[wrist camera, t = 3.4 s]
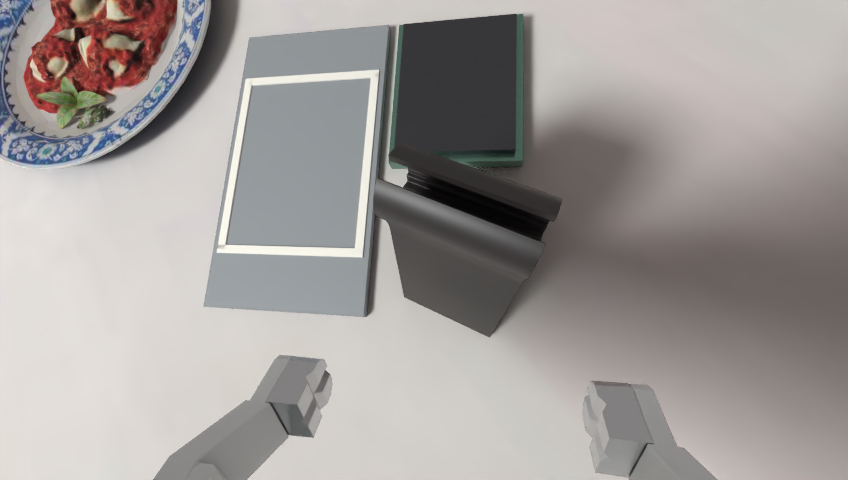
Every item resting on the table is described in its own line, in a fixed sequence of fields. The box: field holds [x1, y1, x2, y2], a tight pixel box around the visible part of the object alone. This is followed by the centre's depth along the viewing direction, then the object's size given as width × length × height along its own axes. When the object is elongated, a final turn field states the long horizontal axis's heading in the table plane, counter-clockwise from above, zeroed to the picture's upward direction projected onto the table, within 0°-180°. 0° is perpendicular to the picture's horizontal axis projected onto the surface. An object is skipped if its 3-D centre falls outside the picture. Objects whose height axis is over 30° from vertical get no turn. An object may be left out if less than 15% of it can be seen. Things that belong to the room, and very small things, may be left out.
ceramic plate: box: [0, 0, 211, 170], centre depth 31 cm, size 26×26×3 cm
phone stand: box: [373, 143, 562, 337], centre depth 17 cm, size 9×6×12 cm, turn 155°
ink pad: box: [389, 14, 523, 169], centre depth 25 cm, size 9×11×2 cm
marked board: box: [204, 25, 391, 317], centre depth 26 cm, size 12×22×1 cm, turn 177°
